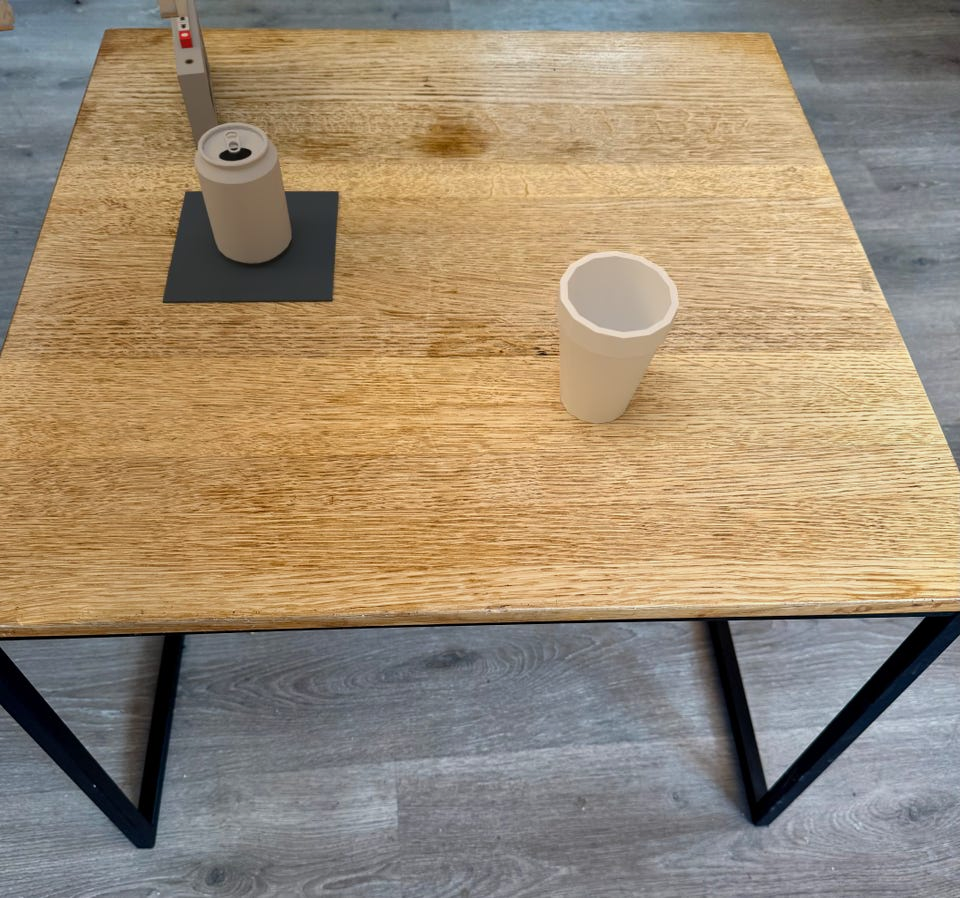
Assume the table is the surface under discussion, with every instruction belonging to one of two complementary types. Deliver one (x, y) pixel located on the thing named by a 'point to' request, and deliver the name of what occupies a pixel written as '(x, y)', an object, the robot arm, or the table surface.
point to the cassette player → (194, 72)
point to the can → (243, 192)
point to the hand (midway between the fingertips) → (89, 19)
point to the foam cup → (610, 330)
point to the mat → (281, 279)
